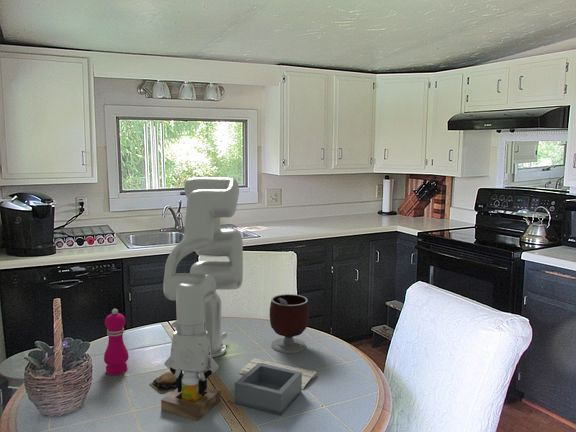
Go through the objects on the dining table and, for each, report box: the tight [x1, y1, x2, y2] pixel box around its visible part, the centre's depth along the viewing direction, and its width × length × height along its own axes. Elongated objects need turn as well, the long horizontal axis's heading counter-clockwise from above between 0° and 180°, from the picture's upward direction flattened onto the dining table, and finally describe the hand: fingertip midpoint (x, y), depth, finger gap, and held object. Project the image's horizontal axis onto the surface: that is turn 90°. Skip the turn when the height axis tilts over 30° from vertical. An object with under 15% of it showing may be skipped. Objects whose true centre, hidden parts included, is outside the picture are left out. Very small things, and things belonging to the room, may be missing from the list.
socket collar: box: [160, 386, 222, 422], centre depth 134 cm, size 11×11×3 cm
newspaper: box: [238, 357, 318, 391], centre depth 154 cm, size 23×12×2 cm, turn 64°
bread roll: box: [149, 371, 177, 394], centre depth 146 cm, size 11×8×4 cm
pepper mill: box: [103, 308, 130, 376], centre depth 152 cm, size 7×7×20 cm
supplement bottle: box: [181, 371, 202, 403], centre depth 134 cm, size 5×5×10 cm
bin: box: [234, 363, 302, 416], centre depth 139 cm, size 14×14×6 cm
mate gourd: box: [269, 293, 310, 354], centre depth 173 cm, size 16×14×20 cm
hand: (191, 390), depth 134 cm, fingers closed on supplement bottle, 5 cm apart
